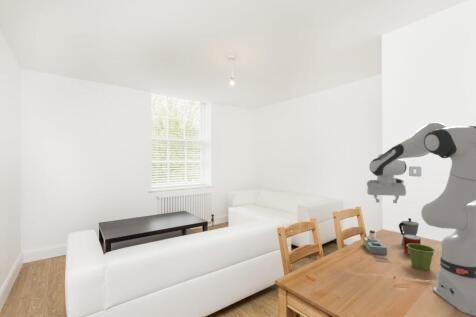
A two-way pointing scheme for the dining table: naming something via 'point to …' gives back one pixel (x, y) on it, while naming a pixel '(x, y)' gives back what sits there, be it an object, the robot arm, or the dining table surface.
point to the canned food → (410, 241)
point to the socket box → (375, 246)
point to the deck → (381, 258)
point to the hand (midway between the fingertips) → (386, 202)
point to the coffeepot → (408, 228)
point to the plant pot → (420, 255)
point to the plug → (372, 236)
